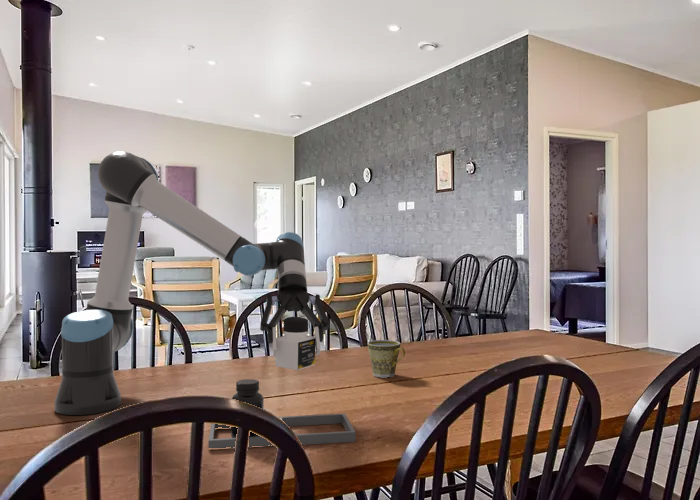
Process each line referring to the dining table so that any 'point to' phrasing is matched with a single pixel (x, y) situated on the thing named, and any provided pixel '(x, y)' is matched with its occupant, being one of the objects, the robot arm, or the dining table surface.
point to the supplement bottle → (248, 397)
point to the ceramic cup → (384, 357)
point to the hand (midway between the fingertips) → (296, 352)
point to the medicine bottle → (295, 345)
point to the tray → (304, 438)
